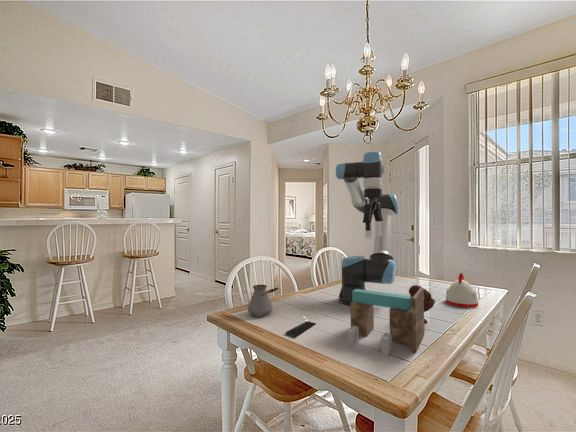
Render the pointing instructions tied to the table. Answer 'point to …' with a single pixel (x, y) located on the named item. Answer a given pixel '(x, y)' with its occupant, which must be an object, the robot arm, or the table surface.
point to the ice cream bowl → (427, 298)
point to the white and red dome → (461, 294)
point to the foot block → (362, 317)
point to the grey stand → (385, 340)
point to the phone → (299, 329)
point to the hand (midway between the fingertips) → (373, 237)
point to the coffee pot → (260, 301)
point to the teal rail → (382, 299)
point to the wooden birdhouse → (409, 323)
